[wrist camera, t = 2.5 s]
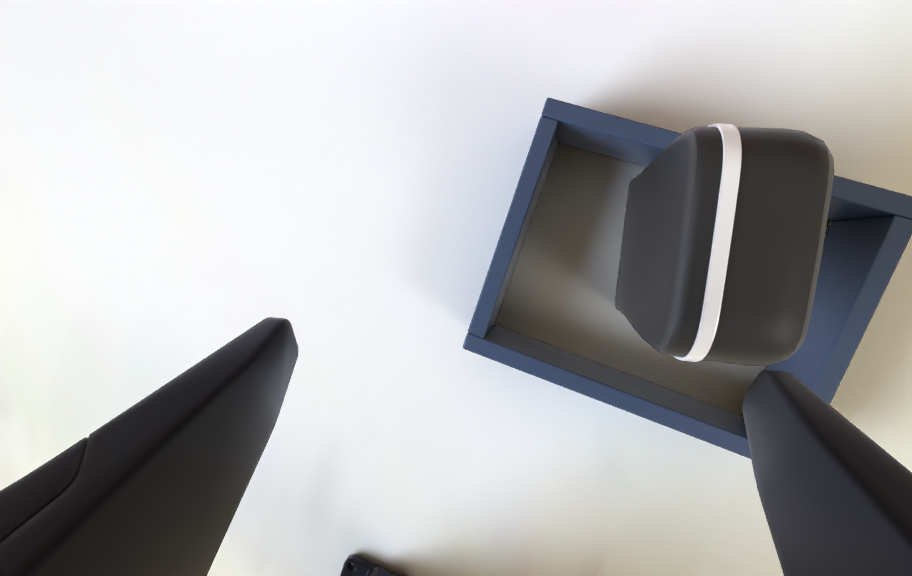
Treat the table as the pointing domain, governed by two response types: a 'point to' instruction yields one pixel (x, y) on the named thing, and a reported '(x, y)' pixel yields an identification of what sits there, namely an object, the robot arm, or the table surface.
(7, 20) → the table surface
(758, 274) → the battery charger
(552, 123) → the box
